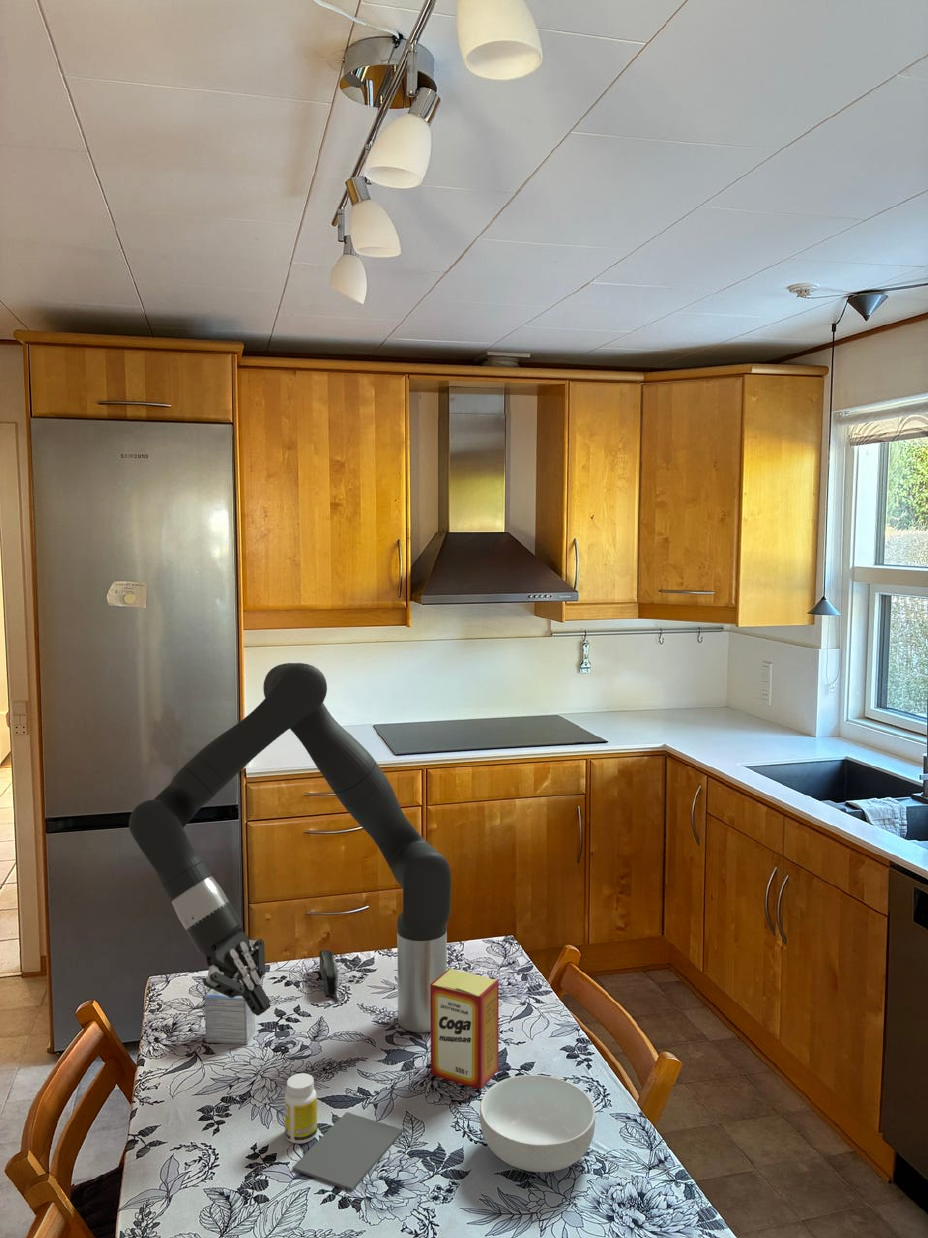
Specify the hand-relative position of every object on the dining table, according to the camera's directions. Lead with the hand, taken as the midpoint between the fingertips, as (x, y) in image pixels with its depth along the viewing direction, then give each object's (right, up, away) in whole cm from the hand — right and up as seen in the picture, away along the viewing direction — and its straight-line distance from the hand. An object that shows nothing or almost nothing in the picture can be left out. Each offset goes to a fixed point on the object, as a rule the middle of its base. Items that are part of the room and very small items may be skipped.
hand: (263, 1011), depth 137 cm
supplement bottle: (+6, -17, -3) cm, 19 cm away
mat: (+14, -17, -7) cm, 23 cm away
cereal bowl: (+42, -18, -7) cm, 46 cm away
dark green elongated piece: (+3, -15, +44) cm, 47 cm away
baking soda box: (+31, -16, +13) cm, 37 cm away
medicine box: (-11, -16, +24) cm, 31 cm away
